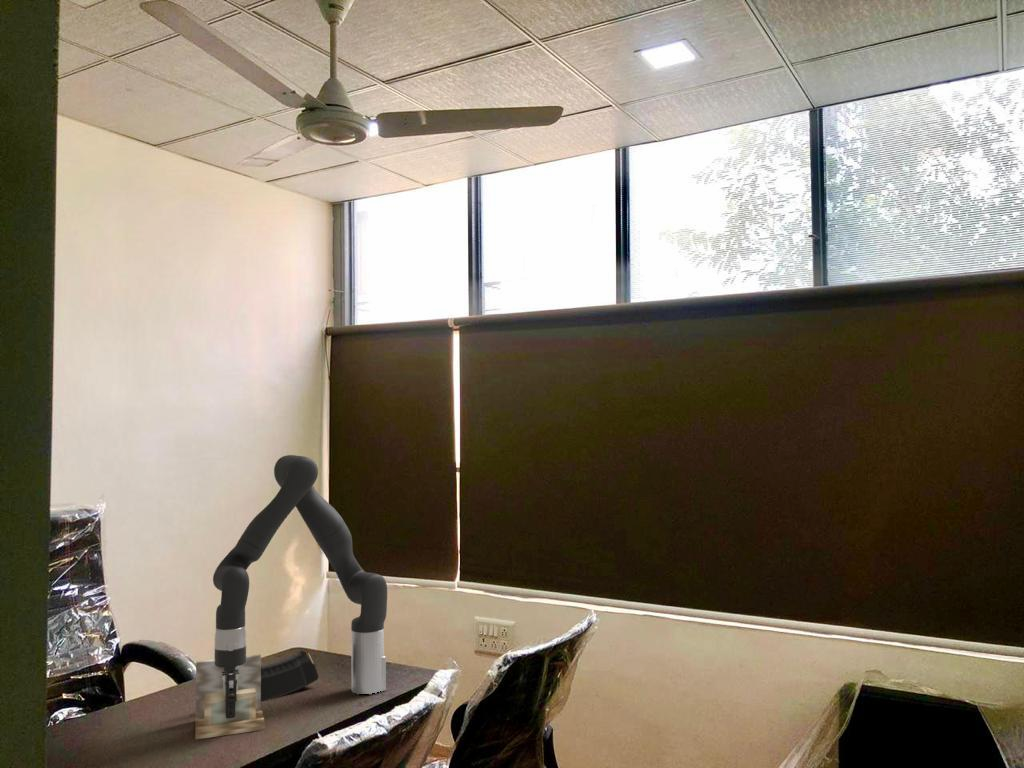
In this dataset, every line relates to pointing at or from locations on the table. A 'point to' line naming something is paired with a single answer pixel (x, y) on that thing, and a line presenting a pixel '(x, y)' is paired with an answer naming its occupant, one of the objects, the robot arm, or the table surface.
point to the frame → (217, 707)
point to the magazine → (287, 676)
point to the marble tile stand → (212, 683)
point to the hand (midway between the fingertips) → (230, 714)
